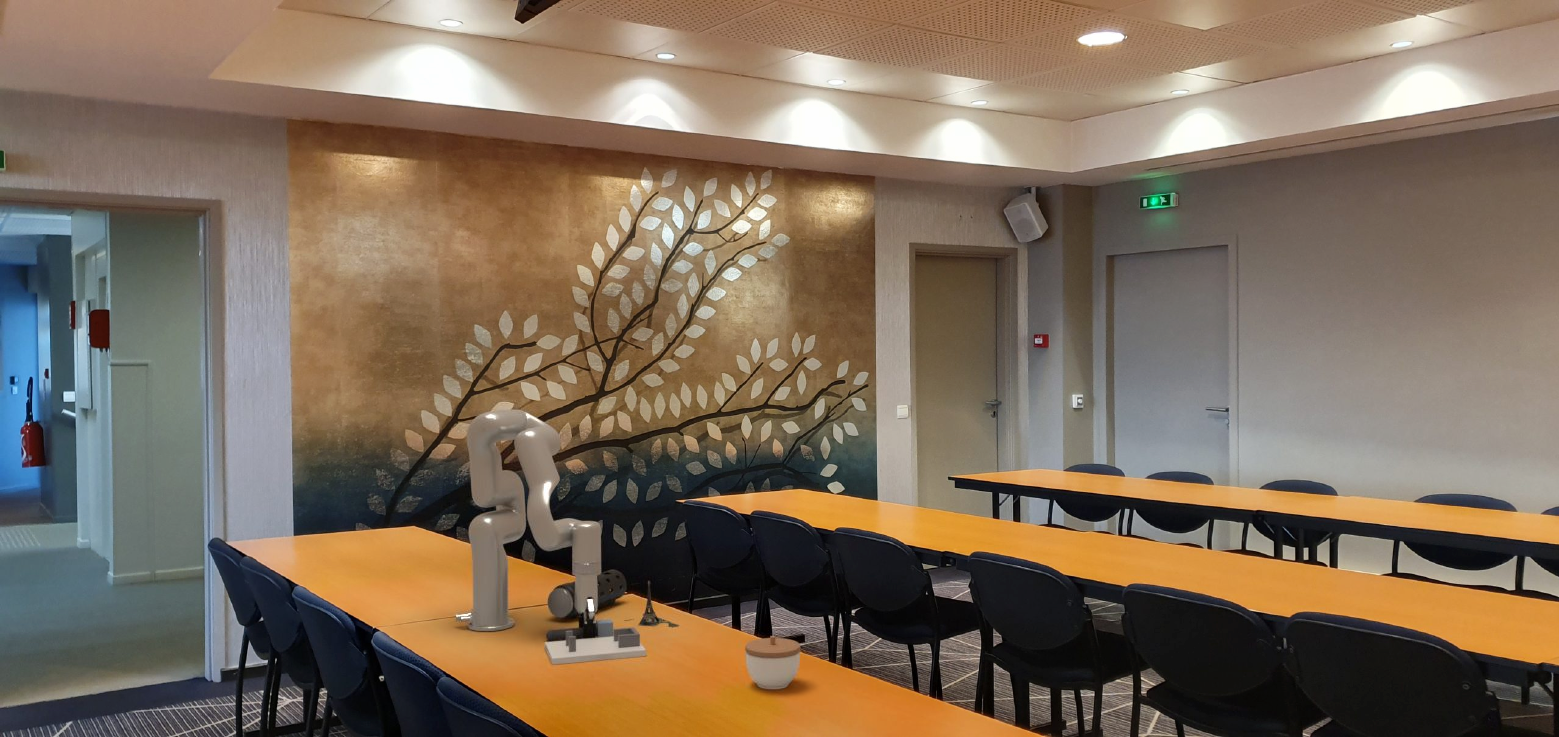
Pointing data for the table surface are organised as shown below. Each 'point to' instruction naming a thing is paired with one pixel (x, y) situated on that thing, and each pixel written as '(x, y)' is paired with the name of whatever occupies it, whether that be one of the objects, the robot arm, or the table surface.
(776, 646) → the lidded bowl
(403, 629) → the table surface
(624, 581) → the muzzle brake
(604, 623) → the cable
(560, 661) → the cable board
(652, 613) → the eiffel tower figurine
